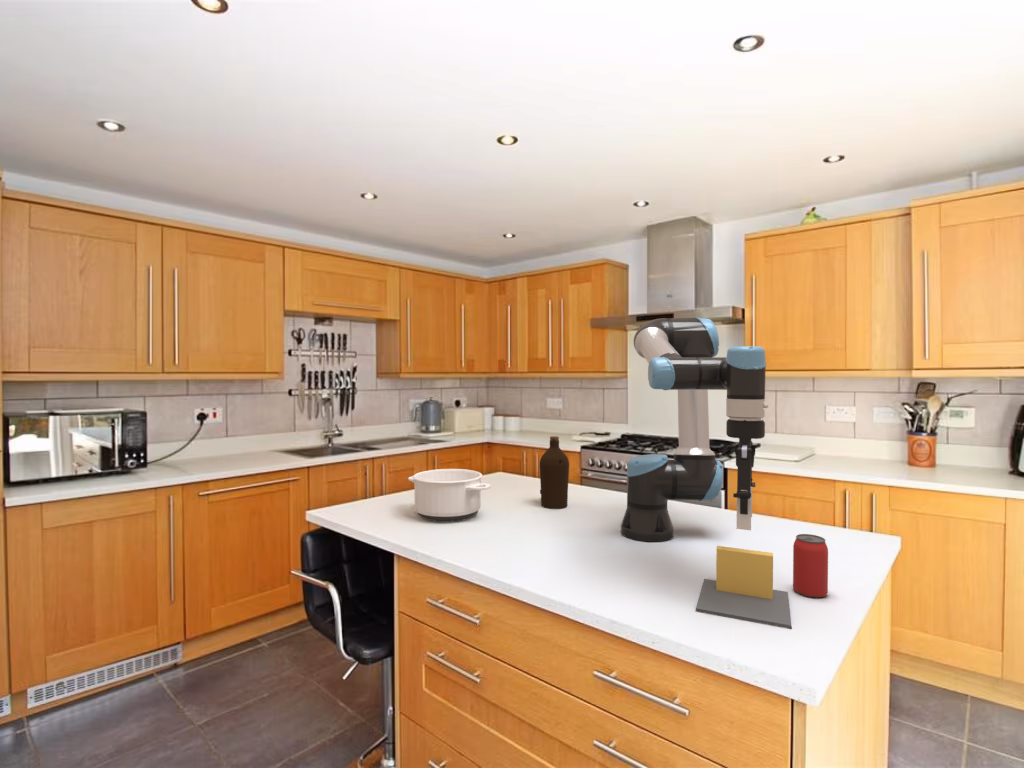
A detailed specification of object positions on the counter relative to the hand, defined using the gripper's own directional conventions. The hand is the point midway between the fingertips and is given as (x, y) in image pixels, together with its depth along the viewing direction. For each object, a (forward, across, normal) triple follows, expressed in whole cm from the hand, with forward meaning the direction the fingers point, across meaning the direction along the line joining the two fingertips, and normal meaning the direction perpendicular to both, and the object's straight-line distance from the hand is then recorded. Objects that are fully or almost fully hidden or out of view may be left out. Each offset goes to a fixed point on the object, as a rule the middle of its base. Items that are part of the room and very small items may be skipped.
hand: (744, 522), depth 113 cm
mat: (+16, -4, 0) cm, 16 cm away
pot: (+16, +28, +92) cm, 98 cm away
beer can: (+16, +8, -13) cm, 22 cm away
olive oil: (+16, +55, +64) cm, 86 cm away
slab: (+15, 0, 0) cm, 15 cm away
